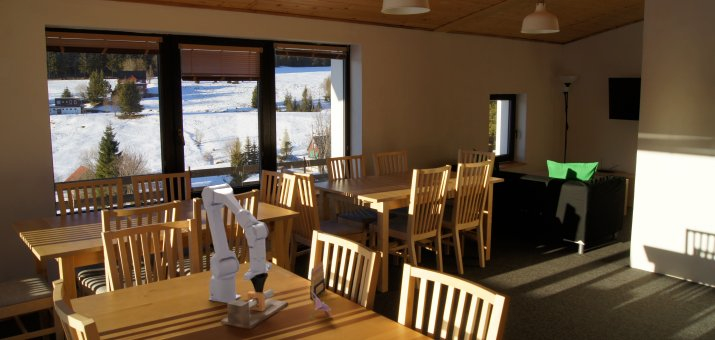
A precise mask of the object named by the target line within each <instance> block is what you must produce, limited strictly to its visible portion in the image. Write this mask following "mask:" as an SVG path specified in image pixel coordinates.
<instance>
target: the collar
mask: <svg viewBox="0 0 715 340" xmlns="http://www.w3.org/2000/svg"><path fill="white" fill-rule="evenodd" d="M246 294H247V302H248V301H250V300H252V299H253V298H258V299H259V305H256V306H254V307H253V308H251V309H252V310H258V311H263V310H265V293H264V292H263V293H260V292H255V290H250V291H248V292H247V293H246Z"/></svg>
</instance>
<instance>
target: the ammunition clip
mask: <svg viewBox="0 0 715 340" xmlns="http://www.w3.org/2000/svg"><path fill="white" fill-rule="evenodd" d="M309 289H310V290H311V291H312V292H313V293H314V294H315V295H316V296H317V297H319V296H320V295H323V293H324V292H325V291H326V278H325V271H324V264H323V261H321V262H319V263H318V264H316V265H315V266H313V268H311V272H310V286H309ZM310 290H309V297H310V298H309V299H310V300H313V298H315V296H314V294H313V293H312V292H311V291H310ZM315 300H316V298H315Z"/></svg>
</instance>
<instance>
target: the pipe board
mask: <svg viewBox="0 0 715 340" xmlns="http://www.w3.org/2000/svg"><path fill="white" fill-rule="evenodd" d="M258 305H259V304H258ZM288 305H289V302H288V301H282V300H277V299H272V298H268V299H266V300H265V310H263V311H258V310H252V309H249V302H248V301H243V300H238V299H235V300H233V301H231V302H229V303H226V306H227V308H226V309H227V317H225V318H223V319H221V320H220V324H223V325H228V326H232V327H237V328H243V329H248V330H251V329H252V328H254V327H256V326H257V325H259V324H260V323H261V322H263V321H265V320H267V319H268V318H270V317H271V316H272V315H274V314H276V313H277V312H279V311H280V310H282V309H283V308H285V307H287V306H288Z"/></svg>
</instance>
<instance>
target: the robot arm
mask: <svg viewBox="0 0 715 340" xmlns="http://www.w3.org/2000/svg"><path fill="white" fill-rule="evenodd" d="M201 198H202V202H203V207H204V209H205V212H206V214H207V215H206V216H207V221H208V224H209V230H210V234H211V240H212V244H213V248H214V254H213V255H212V257H210V259H209V263H210V268H209V270H210V273H211V275H212V276H211V277H210V280H209V284H208V285H209V298H208V300H209V301H214V302H219V303H226V304H228V303H229V302H231V301H233V300H238V299H239V298H241V295H240V294H237V292H236V291H237V289H236V288H237V287H236V276H237V273H238V272H239V270H240V262H239V260H238V258H237V255H236V253H235V252H234V251H232V250H230V248H229V243H228V238H227V233H226V229H225V225H224V220H223V215H222V208H223V206H224V205H225V206H226V207H227V208H228V210H230V211H231V212H232V213H233V214H234V215H235V222H237V223H238V225H239V226H240V227H241V228H242V229H243V230H244V236H245V239H246V240H247V241H246V242H247V246H248V249H249V250H248V252H249V255H248V256H249V269H248V271H247V272H246V273H244V274H243V280H244V281H250V282H251V284H252V287H253V289H254V292H260V293H264V287H265V283H266V281H267V278H268V277H269V272H270V271H269V270H272V269H273V268H272V267H273V265H272V263H269V262H267V259H266V258H267V255H266V250H267V249H266V238H267V237H268V236H269V228H268V225H267V224H266V223H265V222H263V221H260V220H258V219H257V218H256V217H255V216H254V215H253V214H252V212H251V211H250V210H249V209H244V208H243V206H242V205H241V204H240V202H239V201H238V200H237V198H236V197H235V196H234V189H233V188H232V187H231V185H230V184H229V183H227V182H225V183H222V184H216V185H209V186H204V187H203V190H202V192H201Z"/></svg>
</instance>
